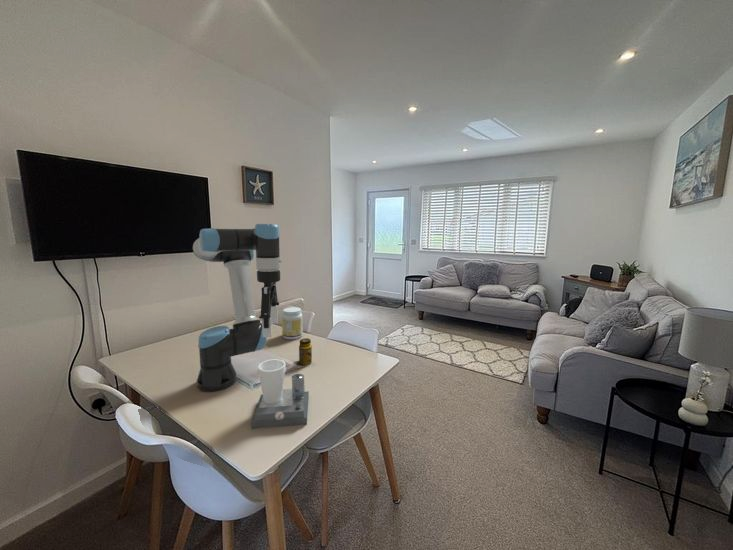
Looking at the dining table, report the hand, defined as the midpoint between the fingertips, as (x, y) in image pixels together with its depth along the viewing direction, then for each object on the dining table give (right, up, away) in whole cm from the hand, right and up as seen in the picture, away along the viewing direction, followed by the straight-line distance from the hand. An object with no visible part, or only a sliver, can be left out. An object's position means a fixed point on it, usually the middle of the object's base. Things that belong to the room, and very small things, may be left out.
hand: (270, 329), depth 103 cm
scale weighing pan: (+3, -27, +5) cm, 28 cm away
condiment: (+3, -24, +41) cm, 48 cm away
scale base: (+3, -31, +4) cm, 31 cm away
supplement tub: (-11, -18, +75) cm, 78 cm away
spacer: (+8, -26, +6) cm, 28 cm away
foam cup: (-1, -26, +5) cm, 27 cm away
